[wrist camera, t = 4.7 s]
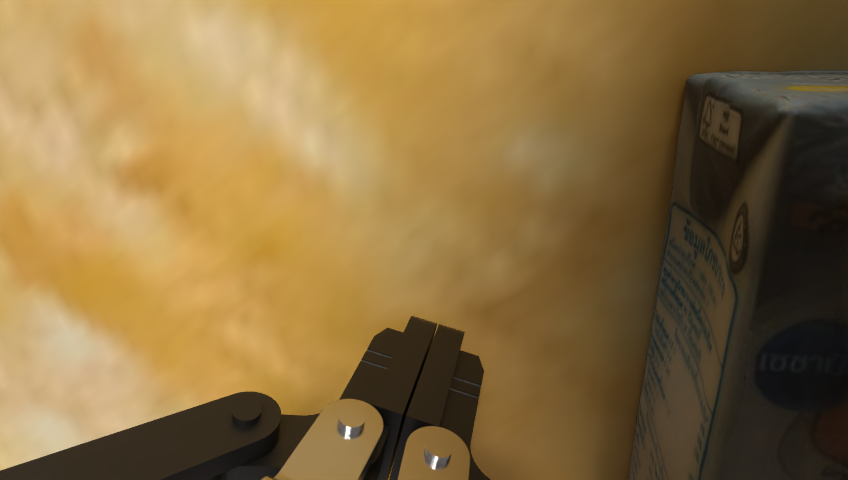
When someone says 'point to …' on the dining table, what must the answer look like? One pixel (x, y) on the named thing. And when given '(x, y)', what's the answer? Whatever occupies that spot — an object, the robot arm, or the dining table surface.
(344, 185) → the dining table surface
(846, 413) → the beverage carton
